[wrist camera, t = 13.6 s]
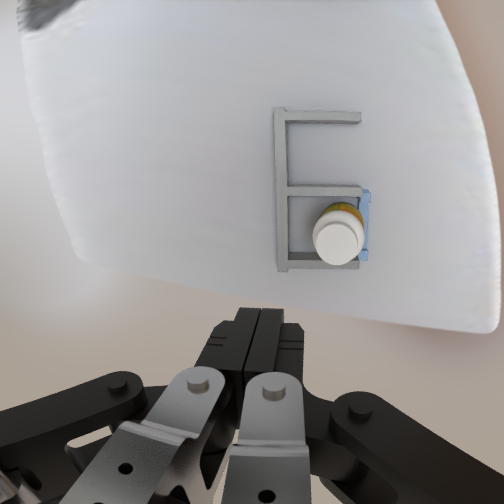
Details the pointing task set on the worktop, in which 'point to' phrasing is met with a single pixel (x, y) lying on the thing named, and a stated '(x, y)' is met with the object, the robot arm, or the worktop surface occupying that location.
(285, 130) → the grey two-tier shelf
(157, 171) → the worktop surface
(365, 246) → the light blue flat bar
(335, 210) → the supplement bottle
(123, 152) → the worktop surface
